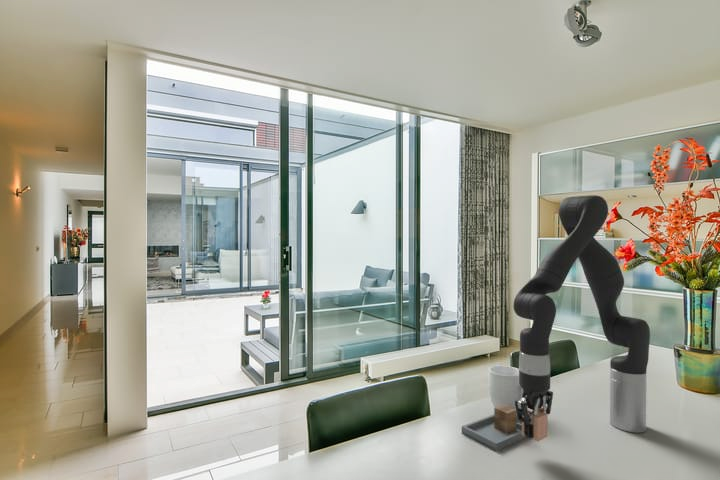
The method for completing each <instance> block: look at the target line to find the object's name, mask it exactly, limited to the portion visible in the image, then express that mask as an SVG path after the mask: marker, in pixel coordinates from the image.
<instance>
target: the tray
mask: <svg viewBox="0 0 720 480" xmlns="http://www.w3.org/2000/svg"><path fill="white" fill-rule="evenodd" d="M461 434H463V435H464V436H466V437H469V438H470V439H472V440H473V441H474V440H475V441H477V442H478V443H480V444H482V445H484V446H486V447H488V448H489V449H492V450H493V451H495V452H498V451H500V450H502V449H504V448H506V447H508V446H511V445H513V444H514V443H517V442H519V441H522V440H523V439H527V437H526V436H524V435H522V423H520V422H518V421H517V430H516V431H513V432H511V433H509V434H506V433H504V432H502V431H499V430H497V429H495V428H494V413H493V414H490V415H488V416H485V417H483V418H480V419H478V420H475V421H472V422H469V423H467V424H464V425H461Z"/></svg>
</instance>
